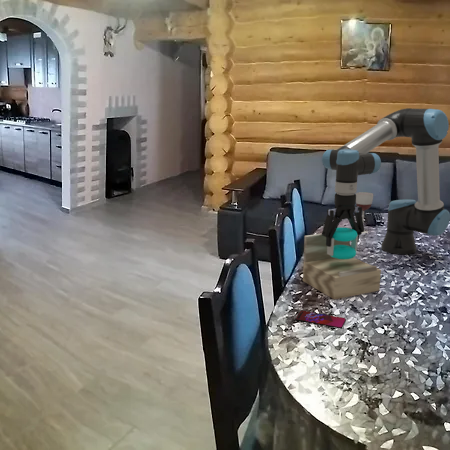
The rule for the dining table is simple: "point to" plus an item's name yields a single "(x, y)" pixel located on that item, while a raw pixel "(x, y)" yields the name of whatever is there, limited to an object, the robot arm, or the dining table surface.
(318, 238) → the display stand
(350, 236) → the donuts
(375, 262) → the dining table surface
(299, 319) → the smartphone
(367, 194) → the wineglass
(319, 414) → the dining table surface
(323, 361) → the dining table surface
